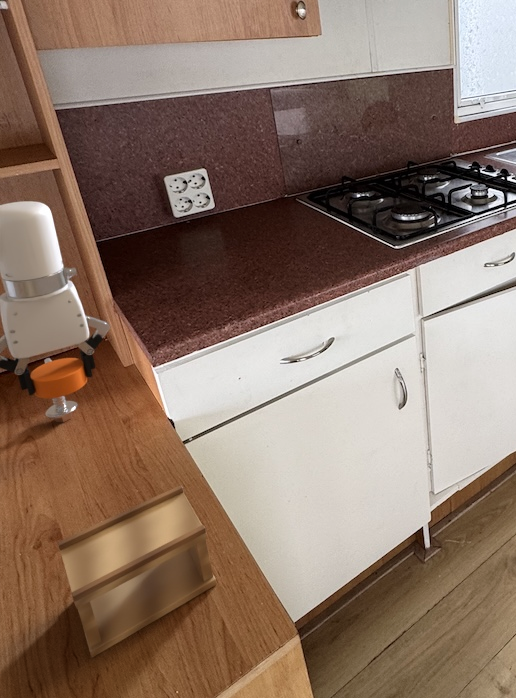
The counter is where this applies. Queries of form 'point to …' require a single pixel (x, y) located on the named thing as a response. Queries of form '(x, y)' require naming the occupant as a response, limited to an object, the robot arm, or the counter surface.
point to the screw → (60, 407)
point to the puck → (58, 378)
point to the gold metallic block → (136, 567)
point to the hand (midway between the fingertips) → (60, 381)
